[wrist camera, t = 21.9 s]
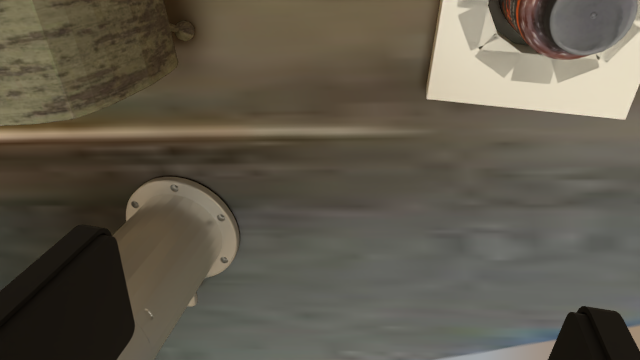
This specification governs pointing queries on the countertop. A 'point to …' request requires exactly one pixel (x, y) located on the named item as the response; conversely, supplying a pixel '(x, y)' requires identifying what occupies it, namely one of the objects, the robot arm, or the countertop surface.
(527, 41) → the supplement bottle
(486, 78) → the socket block
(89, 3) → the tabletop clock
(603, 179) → the countertop surface
